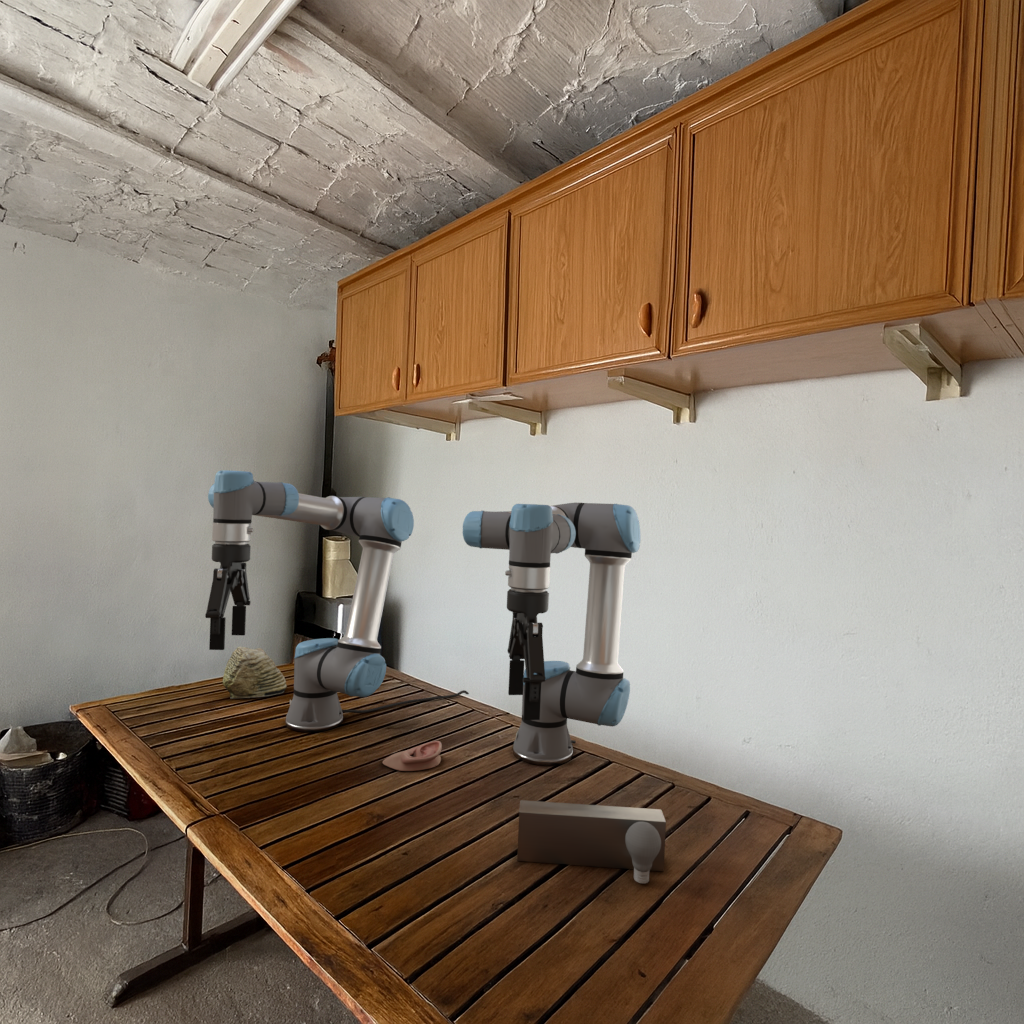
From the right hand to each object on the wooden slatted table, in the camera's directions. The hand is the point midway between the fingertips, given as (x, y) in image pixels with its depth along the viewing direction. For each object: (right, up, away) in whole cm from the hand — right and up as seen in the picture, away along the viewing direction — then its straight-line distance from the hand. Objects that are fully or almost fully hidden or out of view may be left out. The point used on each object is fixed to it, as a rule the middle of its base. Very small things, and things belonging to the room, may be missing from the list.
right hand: (523, 706), depth 115 cm
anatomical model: (-26, -25, +38) cm, 53 cm away
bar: (+12, -28, 0) cm, 30 cm away
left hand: (-63, +7, +21) cm, 67 cm away
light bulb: (+20, -28, -6) cm, 35 cm away
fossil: (-83, -22, +83) cm, 120 cm away
